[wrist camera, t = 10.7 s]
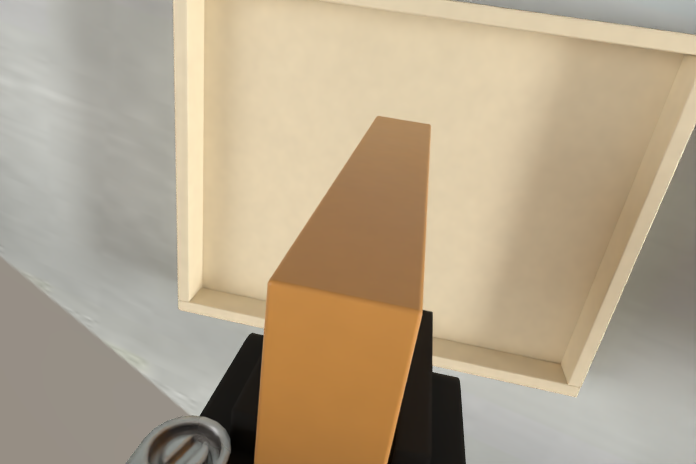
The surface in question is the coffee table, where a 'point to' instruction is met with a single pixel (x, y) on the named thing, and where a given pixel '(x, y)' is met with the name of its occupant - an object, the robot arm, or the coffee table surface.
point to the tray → (434, 159)
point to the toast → (348, 308)
